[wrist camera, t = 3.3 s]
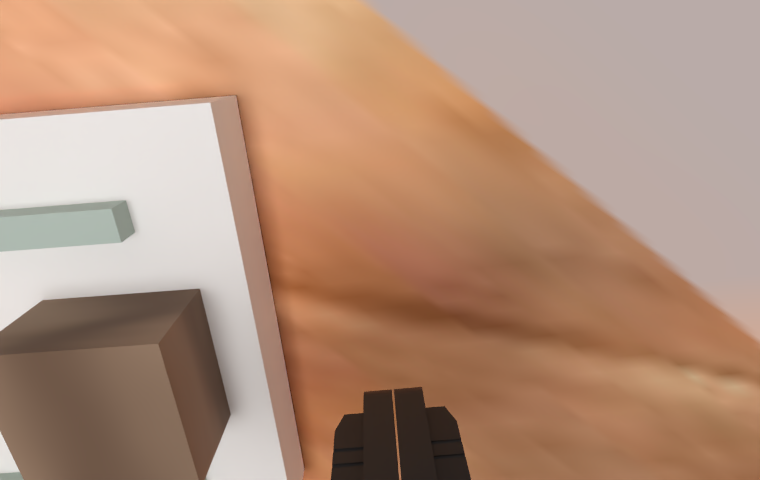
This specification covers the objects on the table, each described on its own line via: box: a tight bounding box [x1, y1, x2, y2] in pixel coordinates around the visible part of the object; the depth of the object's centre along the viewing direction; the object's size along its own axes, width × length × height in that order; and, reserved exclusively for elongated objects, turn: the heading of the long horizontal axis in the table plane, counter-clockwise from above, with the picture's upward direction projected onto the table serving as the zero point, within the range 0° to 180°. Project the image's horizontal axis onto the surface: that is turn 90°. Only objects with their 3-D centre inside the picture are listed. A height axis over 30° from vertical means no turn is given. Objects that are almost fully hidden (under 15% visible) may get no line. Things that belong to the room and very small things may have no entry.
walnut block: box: [0, 289, 231, 480], centre depth 14 cm, size 5×5×3 cm
